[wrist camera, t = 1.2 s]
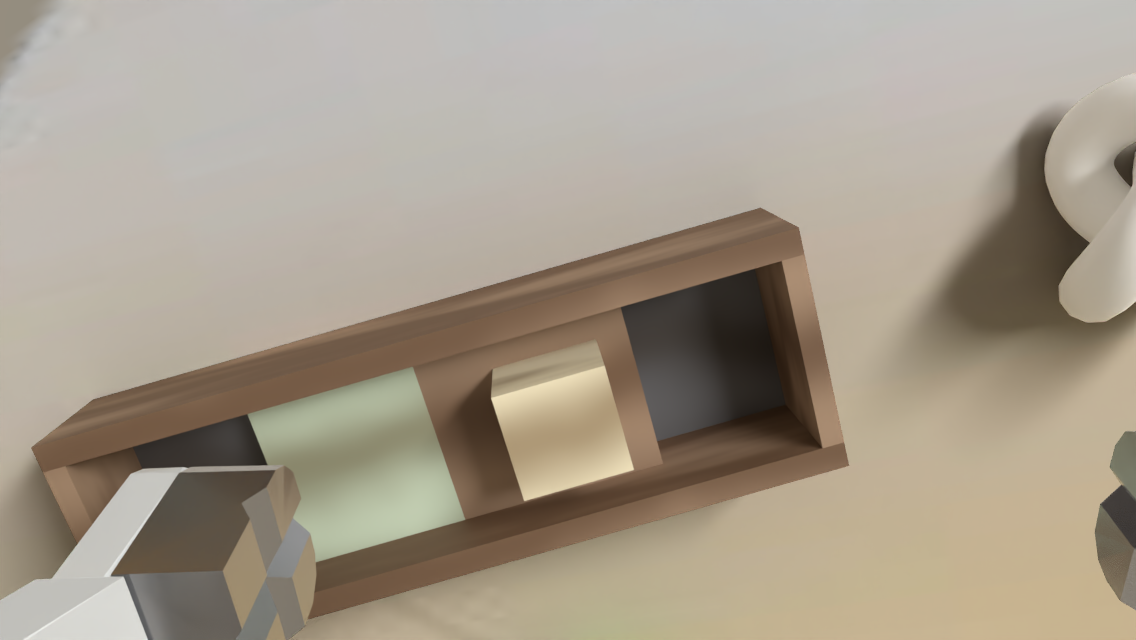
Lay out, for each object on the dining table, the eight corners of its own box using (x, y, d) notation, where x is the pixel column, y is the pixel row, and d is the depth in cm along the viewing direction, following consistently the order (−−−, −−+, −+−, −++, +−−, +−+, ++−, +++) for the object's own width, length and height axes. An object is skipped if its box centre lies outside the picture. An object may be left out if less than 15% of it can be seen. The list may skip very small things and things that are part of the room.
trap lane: (807, 418, 47) (848, 465, 41) (181, 596, 48) (136, 667, 42) (760, 208, 44) (798, 227, 38) (93, 399, 45) (31, 447, 39)
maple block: (623, 435, 44) (634, 469, 40) (522, 463, 44) (524, 501, 40) (595, 339, 42) (604, 365, 38) (492, 368, 42) (491, 398, 39)
